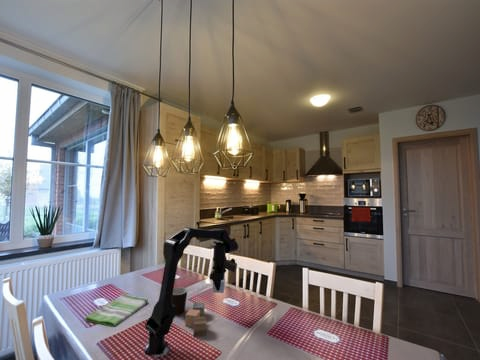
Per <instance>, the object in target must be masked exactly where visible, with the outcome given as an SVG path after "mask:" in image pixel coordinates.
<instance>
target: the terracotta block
mask: <svg viewBox="0 0 480 360" xmlns="http://www.w3.org/2000/svg"><path fill="white" fill-rule="evenodd" d="M195 317H200V310H193V308H192V309H191V308H189V310H187V312H186V314H185V322H184V323H185V325H184V326H185V327H187V328H194V318H195Z"/></svg>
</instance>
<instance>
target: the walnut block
mask: <svg viewBox="0 0 480 360" xmlns="http://www.w3.org/2000/svg"><path fill="white" fill-rule="evenodd" d="M192 335H193V337H206V336H207V316H204V317H195V318H194V327H193V334H192Z"/></svg>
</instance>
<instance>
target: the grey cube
mask: <svg viewBox="0 0 480 360" xmlns="http://www.w3.org/2000/svg"><path fill="white" fill-rule="evenodd" d="M225 280H226V278H225V277H224V280H221V285H220V290H219V291H217V290H216V287H215V285H214V282H213V281H212V294H223V293H225V289H226V287H225V285H226V281H225Z"/></svg>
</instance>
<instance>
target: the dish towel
mask: <svg viewBox="0 0 480 360" xmlns="http://www.w3.org/2000/svg"><path fill="white" fill-rule="evenodd" d="M148 302H149V301H148V299H147V298H145V297H139V296H133V295H128V294H126V293H121V295H119V296H118V297H116V298H115V299H114V300H112V301H110V302H108V303H106V304H105V305H104V306H101V307H100V308H98V309H96V310H95V311H93V312H91V313H90V314H88V315H86V316H85V319H84V321H85V322H90V323H93V322H94V323H93V324H99V325H104V326H109V327H116V326H117V325H120V323H121V322H123V321H125V320H127V319H128V318H130V317H131V316H133V314H135V313H137V312H138V311H140V310H142V308H143V307H145V305H147V304H148Z"/></svg>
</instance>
